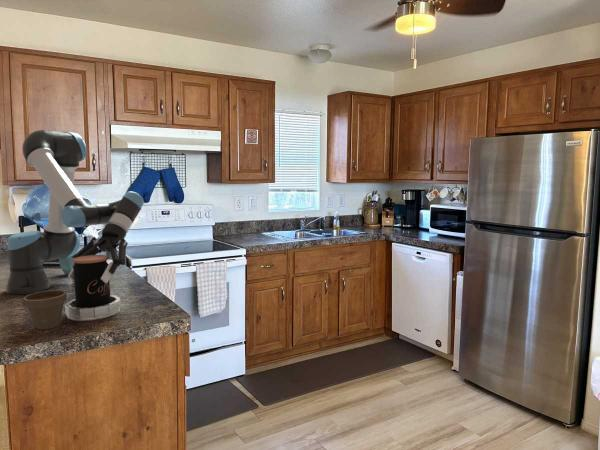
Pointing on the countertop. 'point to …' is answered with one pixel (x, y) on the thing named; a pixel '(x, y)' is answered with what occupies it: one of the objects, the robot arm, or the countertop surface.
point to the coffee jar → (91, 281)
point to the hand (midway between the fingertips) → (87, 279)
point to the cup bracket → (92, 310)
